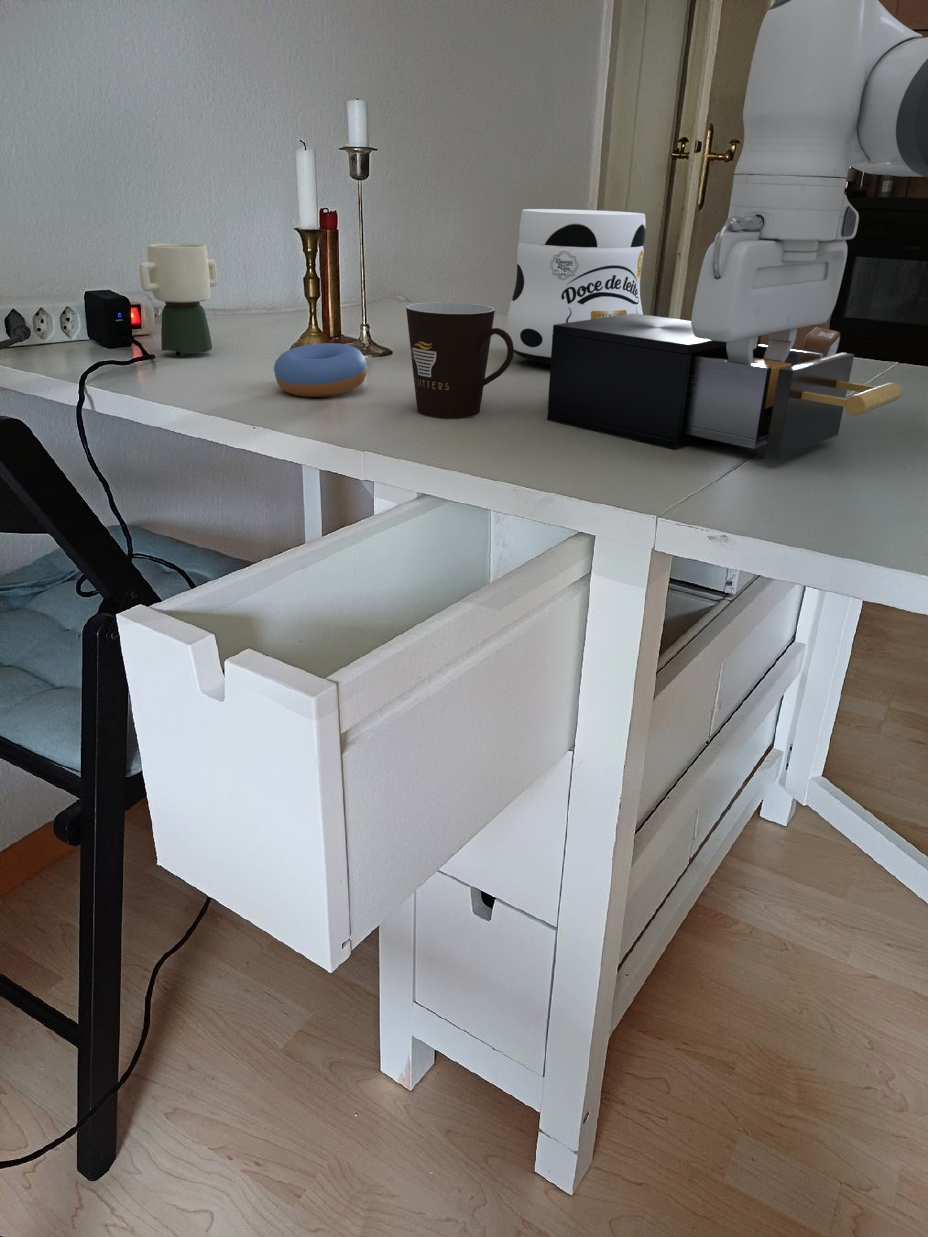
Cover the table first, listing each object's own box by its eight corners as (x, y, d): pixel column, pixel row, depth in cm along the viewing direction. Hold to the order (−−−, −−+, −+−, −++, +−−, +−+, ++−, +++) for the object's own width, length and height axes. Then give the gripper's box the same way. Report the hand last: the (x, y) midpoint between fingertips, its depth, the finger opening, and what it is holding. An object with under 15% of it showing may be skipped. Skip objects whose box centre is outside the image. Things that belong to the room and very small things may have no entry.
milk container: (608, 381, 110) (624, 216, 103) (481, 364, 118) (487, 209, 110) (657, 360, 124) (674, 213, 116) (540, 346, 132) (548, 207, 124)
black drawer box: (747, 425, 92) (762, 330, 88) (675, 449, 83) (688, 344, 79) (623, 400, 101) (632, 313, 97) (546, 420, 92) (552, 324, 88)
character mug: (206, 346, 124) (197, 242, 119) (239, 353, 120) (231, 245, 115) (134, 355, 117) (120, 244, 111) (167, 363, 113) (154, 248, 107)
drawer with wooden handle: (897, 446, 82) (917, 362, 79) (840, 474, 74) (860, 381, 71) (707, 409, 94) (718, 335, 91) (639, 429, 85) (648, 348, 82)
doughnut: (285, 403, 95) (283, 357, 93) (267, 384, 104) (264, 341, 102) (378, 397, 99) (378, 353, 97) (353, 379, 107) (352, 338, 105)
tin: (800, 399, 104) (814, 321, 100) (829, 402, 103) (845, 323, 99) (778, 427, 92) (794, 339, 88) (811, 431, 90) (828, 342, 87)
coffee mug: (394, 404, 96) (394, 303, 92) (471, 399, 99) (474, 301, 95) (433, 431, 86) (435, 319, 82) (517, 425, 89) (523, 317, 85)
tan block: (785, 403, 84) (792, 363, 82) (764, 409, 81) (771, 368, 79) (739, 394, 86) (745, 356, 85) (718, 400, 84) (724, 360, 82)
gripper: (760, 218, 68) (730, 406, 74) (867, 216, 82) (835, 375, 88) (684, 213, 72) (662, 393, 78) (799, 213, 86) (773, 365, 92)
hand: (755, 383), depth 83 cm, fingers closed on tan block, 4 cm apart
